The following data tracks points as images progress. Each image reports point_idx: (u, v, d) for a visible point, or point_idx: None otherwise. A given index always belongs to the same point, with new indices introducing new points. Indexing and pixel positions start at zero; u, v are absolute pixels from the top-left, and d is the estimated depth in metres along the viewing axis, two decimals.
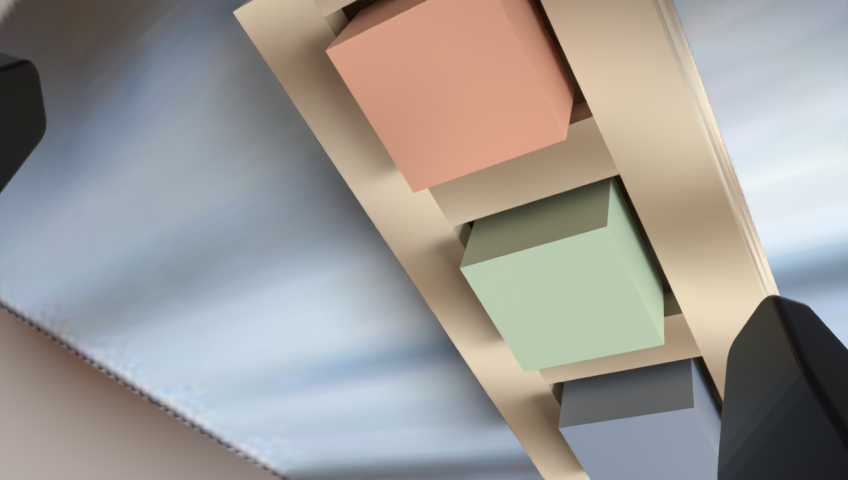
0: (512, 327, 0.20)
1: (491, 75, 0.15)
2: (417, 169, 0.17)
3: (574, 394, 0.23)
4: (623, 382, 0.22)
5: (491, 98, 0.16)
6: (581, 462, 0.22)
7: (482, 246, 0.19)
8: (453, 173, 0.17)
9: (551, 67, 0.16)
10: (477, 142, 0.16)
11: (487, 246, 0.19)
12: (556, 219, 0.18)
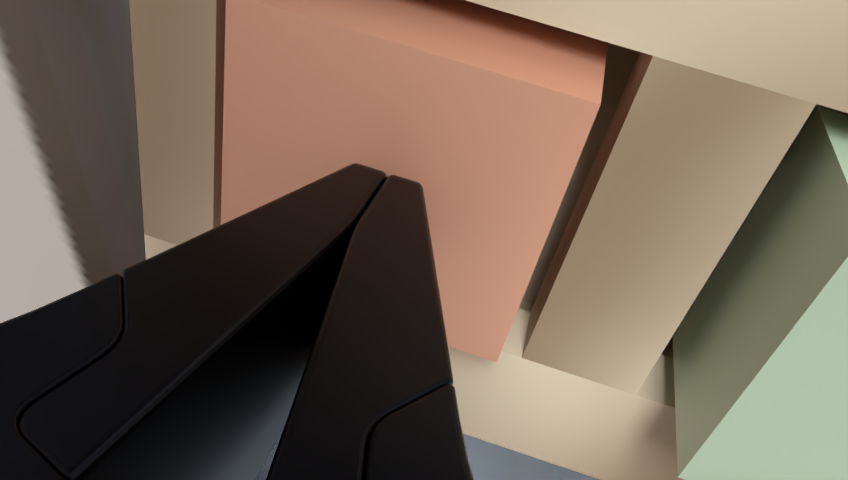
0: None
1: (395, 117, 0.08)
2: (464, 328, 0.10)
3: None
4: None
5: (433, 148, 0.08)
6: None
7: (693, 407, 0.09)
8: (510, 296, 0.09)
9: (510, 21, 0.08)
10: (489, 228, 0.08)
11: (699, 403, 0.09)
12: (774, 276, 0.08)
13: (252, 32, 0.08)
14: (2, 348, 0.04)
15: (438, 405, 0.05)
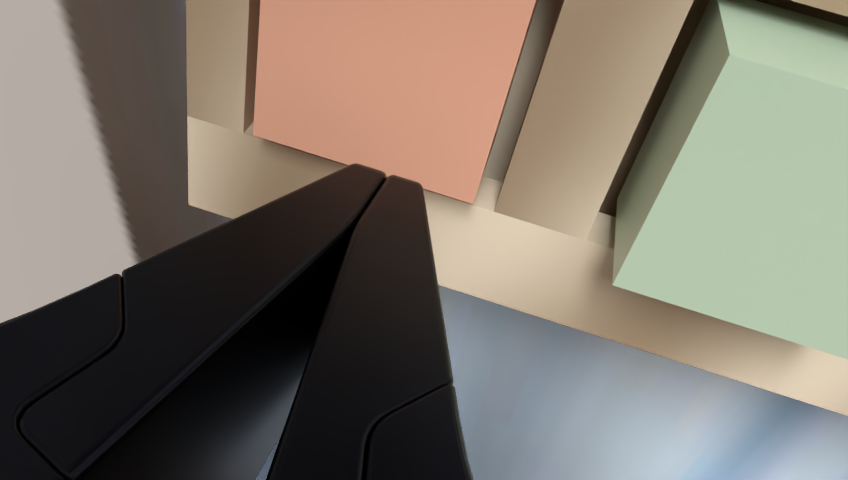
0: (769, 311, 0.11)
1: None
2: (447, 173, 0.12)
3: None
4: None
5: (421, 15, 0.11)
6: None
7: (625, 233, 0.12)
8: (482, 142, 0.12)
9: None
10: (465, 82, 0.11)
11: (629, 228, 0.11)
12: (679, 115, 0.10)
13: None
14: (1, 348, 0.04)
15: (438, 405, 0.05)
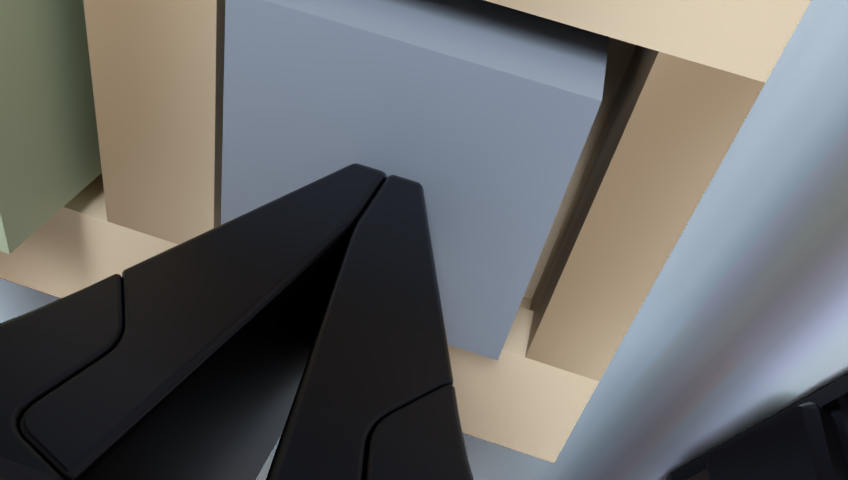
0: None
1: None
2: None
3: None
4: None
5: None
6: None
7: None
8: None
9: None
10: None
11: None
12: None
13: None
14: (1, 349, 0.04)
15: (438, 405, 0.05)
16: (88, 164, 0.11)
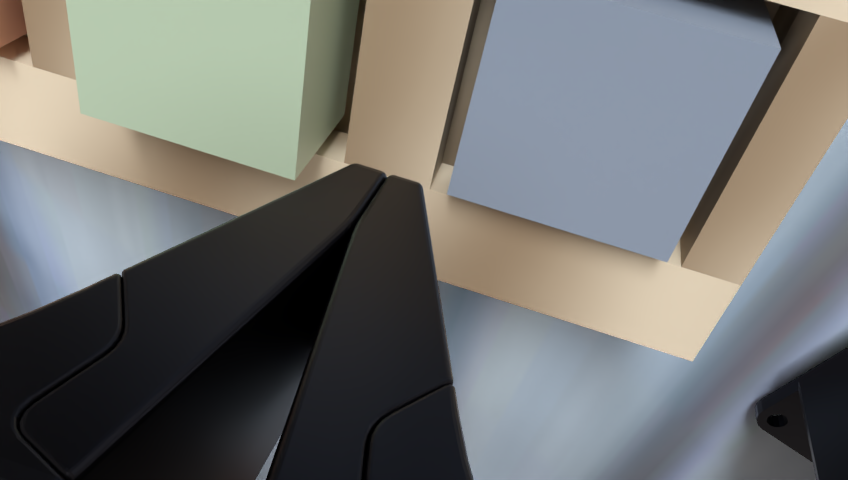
0: (203, 130, 0.12)
1: None
2: None
3: None
4: None
5: None
6: (537, 219, 0.13)
7: None
8: None
9: None
10: None
11: None
12: None
13: None
14: (2, 348, 0.04)
15: (438, 405, 0.05)
16: (333, 117, 0.13)
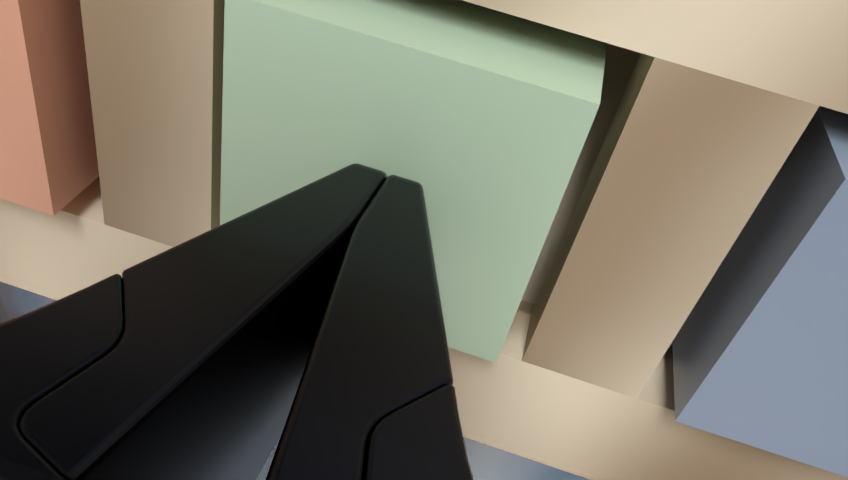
0: None
1: None
2: (12, 179, 0.10)
3: (684, 336, 0.10)
4: (734, 248, 0.09)
5: None
6: (800, 459, 0.09)
7: None
8: (30, 141, 0.09)
9: None
10: None
11: None
12: None
13: None
14: (2, 348, 0.04)
15: (438, 405, 0.05)
16: None
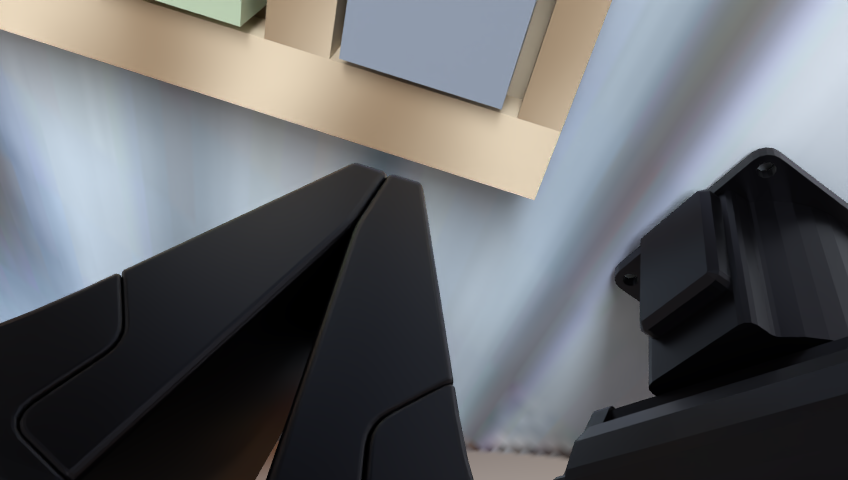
0: None
1: None
2: None
3: None
4: None
5: None
6: (406, 77, 0.17)
7: None
8: None
9: None
10: None
11: None
12: None
13: None
14: (1, 348, 0.04)
15: (438, 405, 0.05)
16: None
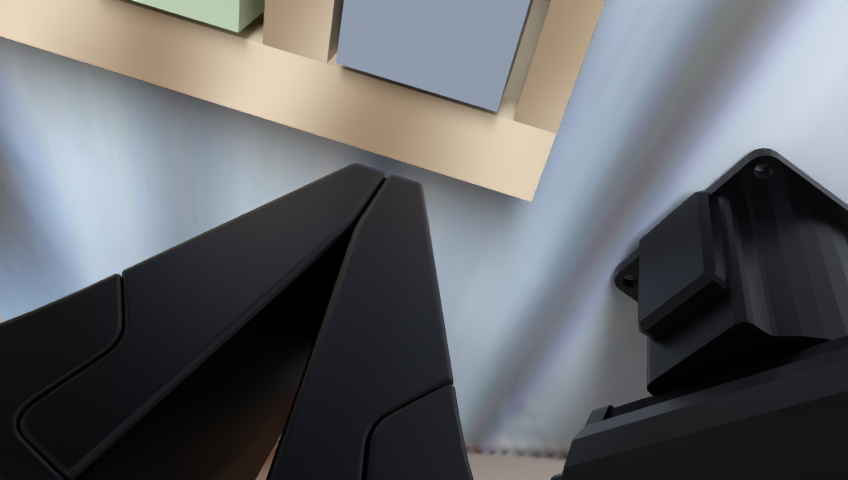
0: None
1: None
2: None
3: None
4: None
5: None
6: (402, 81, 0.17)
7: None
8: None
9: None
10: None
11: None
12: None
13: None
14: (1, 348, 0.04)
15: (438, 405, 0.05)
16: None
